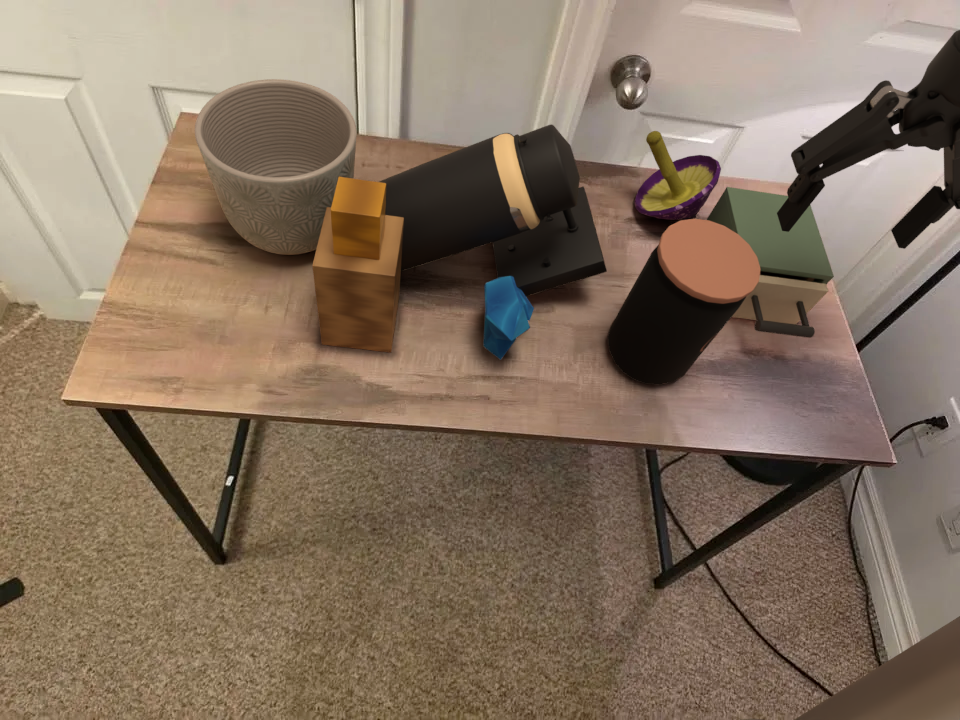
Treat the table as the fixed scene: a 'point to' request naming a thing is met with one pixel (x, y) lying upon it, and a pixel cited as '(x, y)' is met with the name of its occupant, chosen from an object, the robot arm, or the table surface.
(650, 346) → the coffee jar
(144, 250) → the table surface
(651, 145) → the decorative mushroom
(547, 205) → the light fixture
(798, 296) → the drawer
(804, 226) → the cabinet
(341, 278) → the stand
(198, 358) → the table surface
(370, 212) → the block
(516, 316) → the crystal
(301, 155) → the planter
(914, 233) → the robot arm
